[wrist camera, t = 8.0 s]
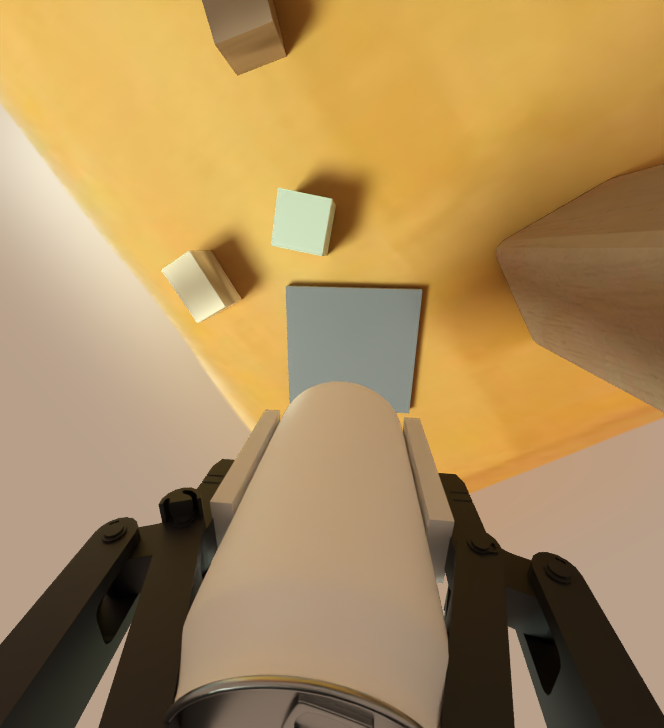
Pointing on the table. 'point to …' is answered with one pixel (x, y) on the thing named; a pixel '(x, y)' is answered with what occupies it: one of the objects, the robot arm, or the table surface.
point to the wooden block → (598, 282)
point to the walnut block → (245, 32)
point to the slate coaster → (353, 339)
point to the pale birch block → (201, 284)
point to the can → (320, 584)
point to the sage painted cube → (303, 222)
